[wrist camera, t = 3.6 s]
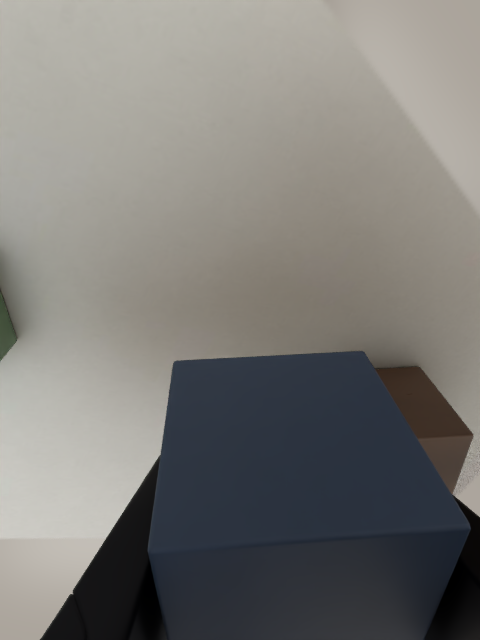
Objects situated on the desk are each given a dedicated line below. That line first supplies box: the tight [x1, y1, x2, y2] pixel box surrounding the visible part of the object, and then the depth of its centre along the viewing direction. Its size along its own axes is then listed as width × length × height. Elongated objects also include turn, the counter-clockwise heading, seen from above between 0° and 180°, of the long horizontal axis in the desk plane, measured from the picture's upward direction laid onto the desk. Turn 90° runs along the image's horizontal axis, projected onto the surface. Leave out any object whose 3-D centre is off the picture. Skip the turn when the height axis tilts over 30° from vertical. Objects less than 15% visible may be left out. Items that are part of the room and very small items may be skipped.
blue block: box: [148, 351, 471, 640], centre depth 8 cm, size 4×4×4 cm
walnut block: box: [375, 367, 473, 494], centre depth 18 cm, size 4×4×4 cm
